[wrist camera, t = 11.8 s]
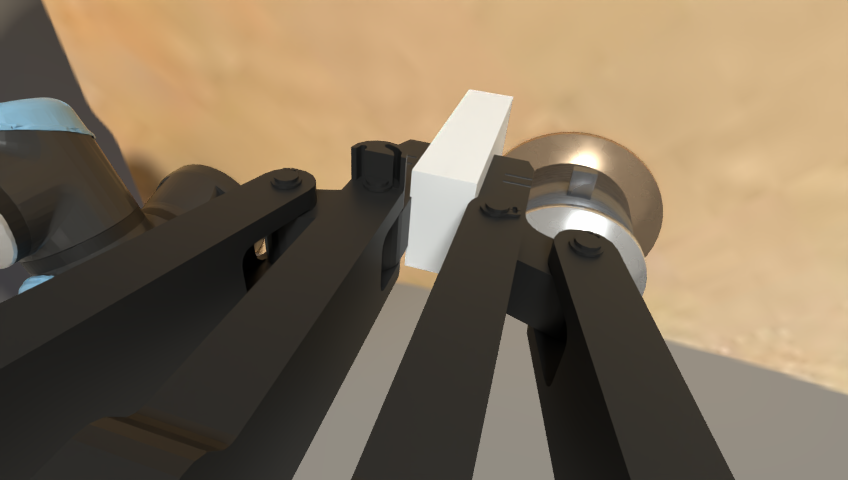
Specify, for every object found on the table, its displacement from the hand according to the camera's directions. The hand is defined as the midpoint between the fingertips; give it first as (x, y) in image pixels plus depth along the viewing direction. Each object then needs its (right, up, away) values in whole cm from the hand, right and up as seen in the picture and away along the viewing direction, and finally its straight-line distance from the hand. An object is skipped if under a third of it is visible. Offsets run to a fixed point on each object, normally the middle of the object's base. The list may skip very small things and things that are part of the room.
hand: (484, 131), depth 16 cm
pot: (+13, -1, +34) cm, 36 cm away
